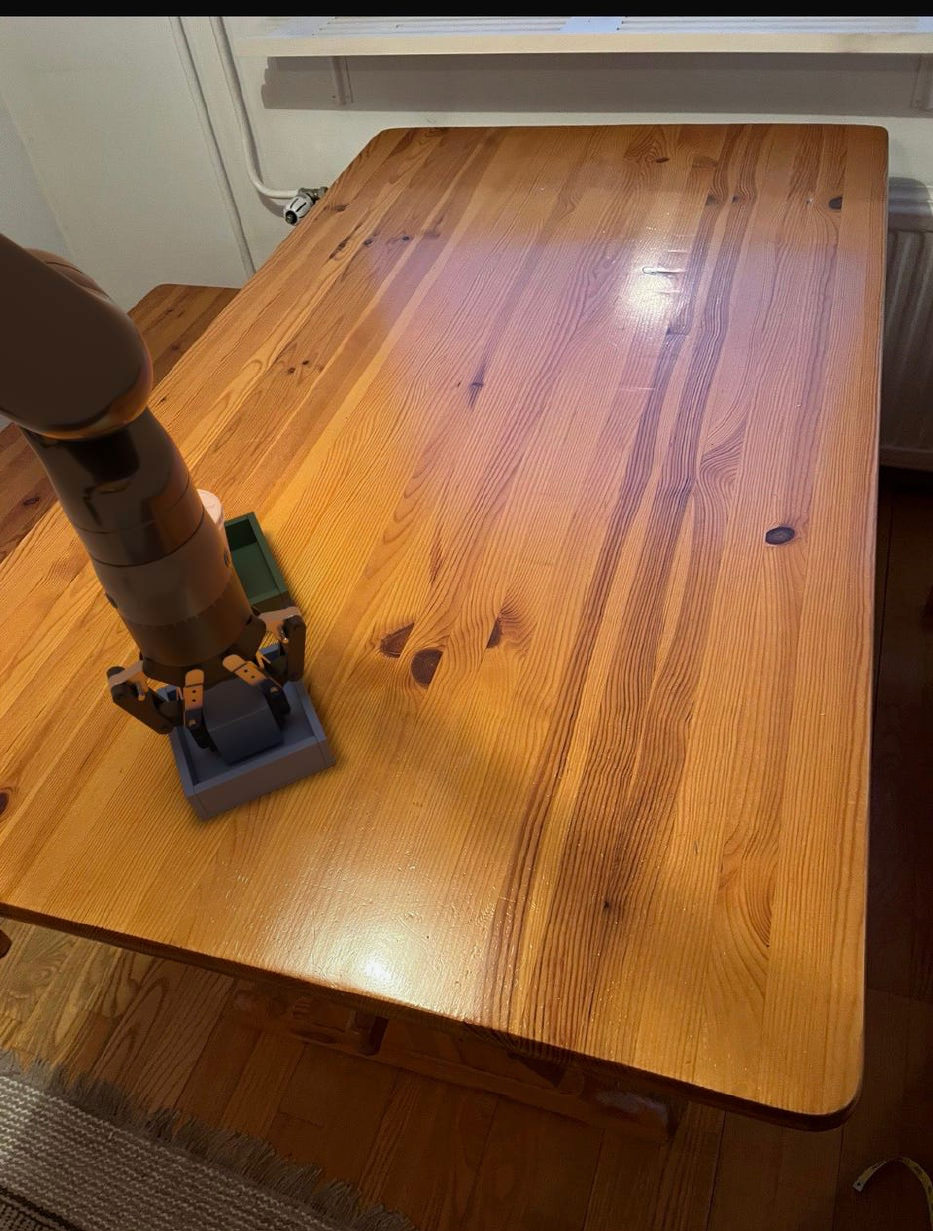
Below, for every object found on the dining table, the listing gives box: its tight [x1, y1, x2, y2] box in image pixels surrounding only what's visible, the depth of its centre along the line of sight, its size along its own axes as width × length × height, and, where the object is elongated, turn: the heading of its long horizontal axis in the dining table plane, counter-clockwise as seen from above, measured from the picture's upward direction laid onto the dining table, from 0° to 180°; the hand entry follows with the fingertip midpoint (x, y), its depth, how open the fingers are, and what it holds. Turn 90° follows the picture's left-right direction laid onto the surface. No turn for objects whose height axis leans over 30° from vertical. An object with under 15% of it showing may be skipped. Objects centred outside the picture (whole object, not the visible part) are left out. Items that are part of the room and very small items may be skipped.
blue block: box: [201, 677, 283, 764], centre depth 69 cm, size 4×4×4 cm
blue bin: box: [155, 641, 337, 822], centre depth 70 cm, size 10×10×4 cm
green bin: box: [224, 511, 292, 613], centre depth 80 cm, size 11×11×4 cm
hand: (246, 728), depth 70 cm, fingers closed on blue block, 4 cm apart
